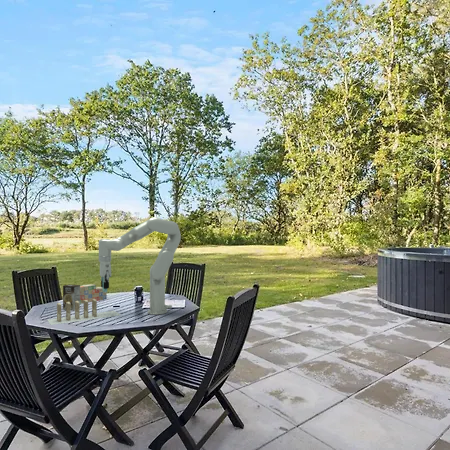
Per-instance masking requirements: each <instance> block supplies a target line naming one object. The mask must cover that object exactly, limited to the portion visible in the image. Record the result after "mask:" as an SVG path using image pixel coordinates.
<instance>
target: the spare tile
mask: <svg viewBox="0 0 450 450" xmlns="http://www.w3.org/2000/svg"><path fill="white" fill-rule="evenodd" d="M105 277H107V276H105ZM105 279H106V278H105ZM103 292H108V289H104V277H103Z"/></svg>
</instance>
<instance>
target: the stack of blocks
mask: <svg viewBox="0 0 450 450" xmlns="http://www.w3.org/2000/svg"><path fill="white" fill-rule="evenodd" d="M107 292H108V291H107ZM107 292H103V288H102V287H101V286H97V285H96V284H90V283H89V284H83V285H80V305H82V304H83V305H84V300H87V301H88V303H92V299H95V300H97V302H99V301H104V300H107V297H108V296H107V294H108V293H107Z"/></svg>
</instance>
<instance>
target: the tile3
mask: <svg viewBox="0 0 450 450" xmlns="http://www.w3.org/2000/svg"><path fill="white" fill-rule="evenodd" d="M88 314H89V302H88V301H87V300H84V303H83V315H84V317H85V318H88Z"/></svg>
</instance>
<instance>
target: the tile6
mask: <svg viewBox="0 0 450 450" xmlns="http://www.w3.org/2000/svg"><path fill="white" fill-rule="evenodd" d="M56 318H57V321H58V322H61V318H62V303H61V302H57V303H56Z"/></svg>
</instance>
